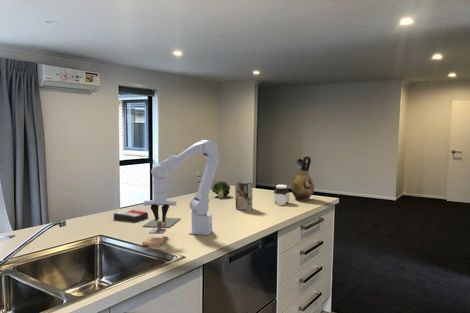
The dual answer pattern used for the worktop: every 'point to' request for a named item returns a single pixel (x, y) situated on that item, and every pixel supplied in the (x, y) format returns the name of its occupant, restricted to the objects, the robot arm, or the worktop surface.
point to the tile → (153, 241)
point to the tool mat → (169, 222)
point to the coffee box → (243, 195)
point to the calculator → (130, 215)
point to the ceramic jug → (303, 181)
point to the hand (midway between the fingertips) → (160, 221)
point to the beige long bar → (159, 226)
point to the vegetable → (221, 189)
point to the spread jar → (281, 194)
